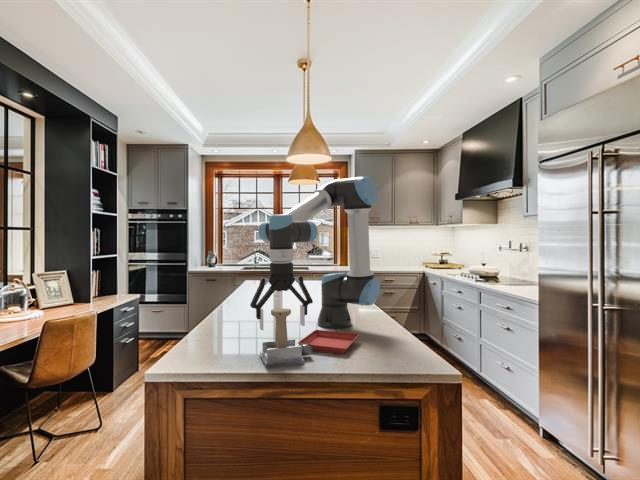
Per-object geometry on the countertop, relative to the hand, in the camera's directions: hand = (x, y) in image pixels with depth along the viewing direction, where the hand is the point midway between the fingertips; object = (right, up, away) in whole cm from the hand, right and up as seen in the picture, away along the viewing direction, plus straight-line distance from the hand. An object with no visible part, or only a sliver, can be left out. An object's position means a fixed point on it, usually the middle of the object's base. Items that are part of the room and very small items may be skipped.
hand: (282, 327), depth 120 cm
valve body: (+2, -11, +1) cm, 11 cm away
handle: (0, -10, 0) cm, 10 cm away
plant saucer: (+16, -11, +15) cm, 24 cm away
